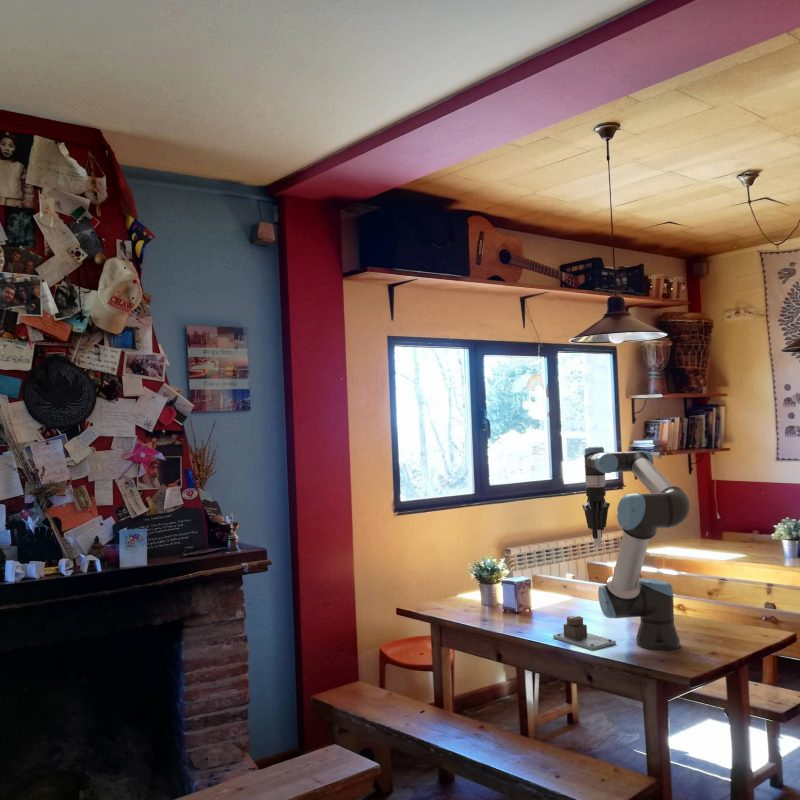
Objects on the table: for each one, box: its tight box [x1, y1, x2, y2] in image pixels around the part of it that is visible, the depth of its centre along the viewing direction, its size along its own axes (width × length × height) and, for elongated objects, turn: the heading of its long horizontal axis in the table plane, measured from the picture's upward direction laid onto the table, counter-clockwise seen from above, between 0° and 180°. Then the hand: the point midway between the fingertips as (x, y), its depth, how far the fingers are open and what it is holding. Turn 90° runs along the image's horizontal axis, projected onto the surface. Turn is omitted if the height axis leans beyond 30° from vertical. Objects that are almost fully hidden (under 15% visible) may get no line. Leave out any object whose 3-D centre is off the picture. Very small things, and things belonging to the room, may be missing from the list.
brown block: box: [563, 615, 588, 639], centre depth 297 cm, size 6×6×7 cm
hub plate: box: [552, 632, 617, 651], centre depth 294 cm, size 20×12×5 cm, turn 32°
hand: (597, 546), depth 309 cm, fingers closed
